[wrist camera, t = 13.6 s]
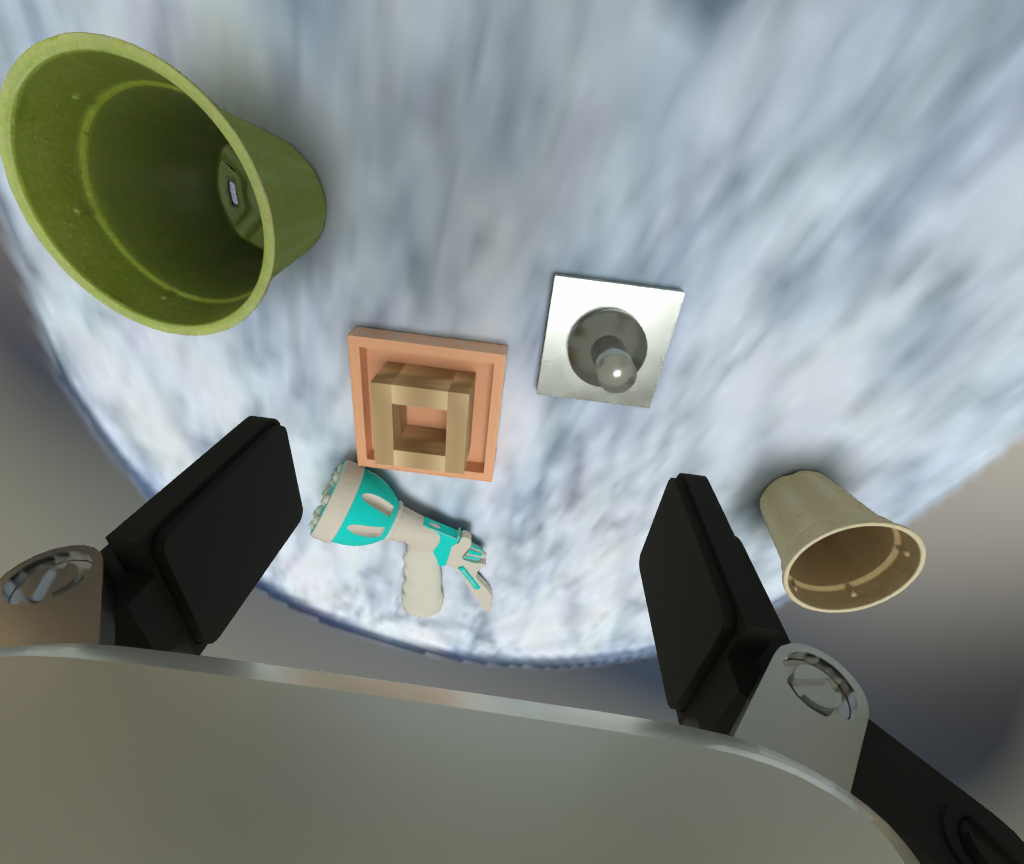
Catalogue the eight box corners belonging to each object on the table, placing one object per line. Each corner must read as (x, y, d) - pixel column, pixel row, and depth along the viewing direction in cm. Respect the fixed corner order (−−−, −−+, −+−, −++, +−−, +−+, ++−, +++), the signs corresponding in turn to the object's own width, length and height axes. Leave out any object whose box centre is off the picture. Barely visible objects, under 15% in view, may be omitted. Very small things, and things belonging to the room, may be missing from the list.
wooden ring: (476, 372, 34) (469, 394, 31) (470, 447, 38) (463, 474, 34) (387, 361, 34) (370, 382, 31) (389, 437, 38) (374, 463, 34)
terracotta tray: (508, 345, 34) (506, 355, 32) (494, 468, 39) (491, 482, 38) (357, 326, 33) (347, 335, 32) (366, 452, 39) (357, 465, 37)
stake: (681, 289, 31) (712, 314, 25) (646, 402, 35) (667, 445, 30) (554, 273, 31) (558, 294, 25) (536, 388, 35) (536, 428, 30)
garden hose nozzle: (489, 642, 47) (517, 517, 35) (320, 635, 45) (287, 500, 33) (490, 583, 52) (514, 458, 40) (340, 574, 50) (318, 441, 38)
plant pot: (289, 44, 25) (133, -39, 15) (392, 249, 30) (324, 284, 21) (140, 138, 28) (-72, 118, 18) (259, 311, 33) (144, 367, 24)
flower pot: (730, 537, 42) (772, 614, 35) (748, 456, 38) (800, 525, 30) (834, 534, 41) (898, 612, 34) (865, 450, 37) (948, 520, 29)
